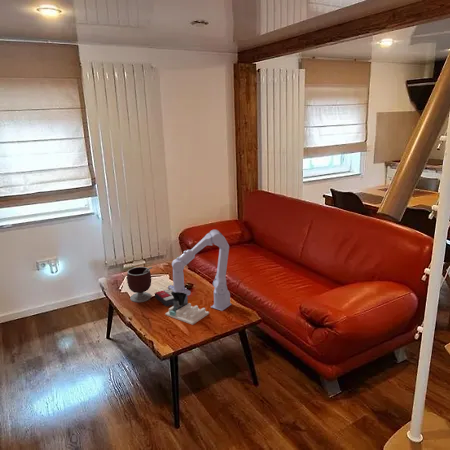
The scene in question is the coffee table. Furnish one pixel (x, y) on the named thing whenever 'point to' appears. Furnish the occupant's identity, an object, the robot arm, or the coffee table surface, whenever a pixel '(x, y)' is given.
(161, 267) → the coffee table surface
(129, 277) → the mate gourd
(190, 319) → the rack
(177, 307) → the panel
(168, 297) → the calculator
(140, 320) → the coffee table surface
